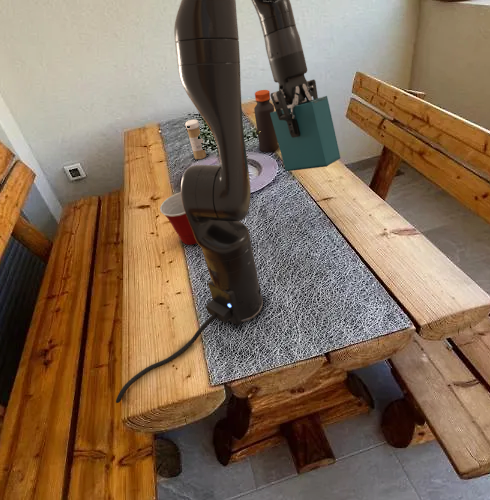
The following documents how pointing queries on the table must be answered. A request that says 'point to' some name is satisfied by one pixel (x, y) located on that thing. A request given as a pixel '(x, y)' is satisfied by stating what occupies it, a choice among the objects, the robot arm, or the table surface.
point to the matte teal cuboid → (308, 137)
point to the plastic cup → (178, 218)
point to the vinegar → (265, 121)
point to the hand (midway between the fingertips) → (304, 132)
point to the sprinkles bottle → (195, 139)
